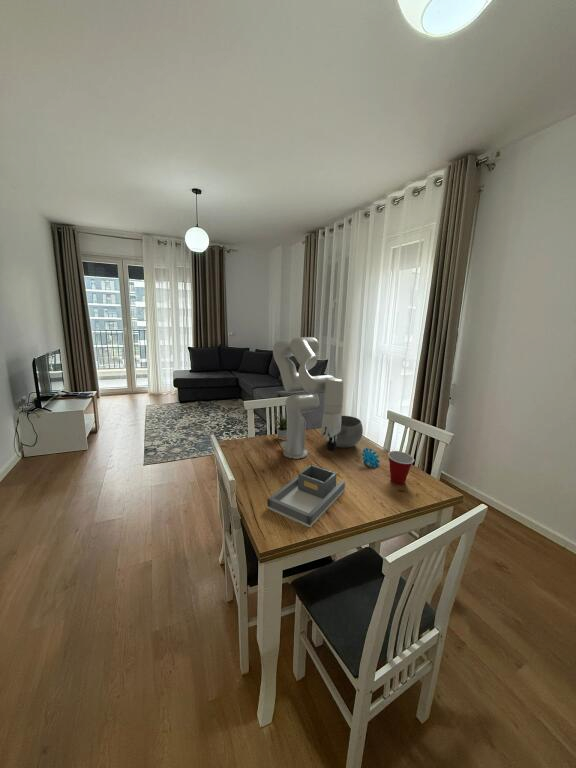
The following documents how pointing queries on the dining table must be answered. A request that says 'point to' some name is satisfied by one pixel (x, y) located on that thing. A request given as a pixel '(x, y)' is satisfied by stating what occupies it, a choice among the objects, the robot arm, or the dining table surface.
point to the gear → (370, 457)
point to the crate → (317, 481)
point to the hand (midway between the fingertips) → (331, 450)
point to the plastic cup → (399, 466)
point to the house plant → (282, 426)
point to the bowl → (349, 432)
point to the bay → (302, 503)
